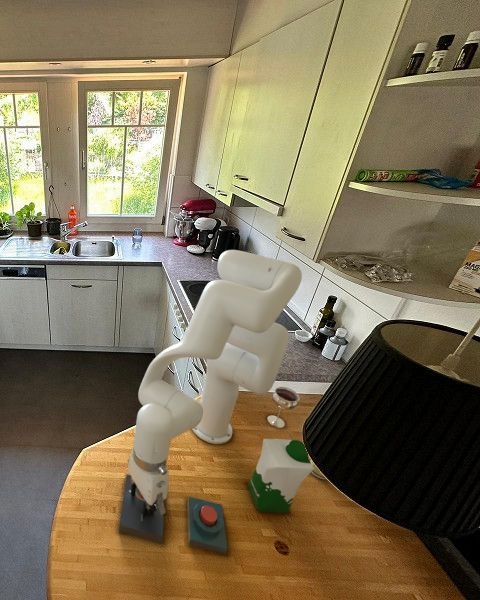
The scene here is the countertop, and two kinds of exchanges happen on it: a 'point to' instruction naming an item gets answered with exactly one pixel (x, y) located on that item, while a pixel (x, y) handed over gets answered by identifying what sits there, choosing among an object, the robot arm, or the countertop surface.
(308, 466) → the milk carton
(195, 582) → the countertop surface
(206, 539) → the teal button housing
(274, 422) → the wineglass
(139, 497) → the rotary knob
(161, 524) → the plate
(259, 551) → the countertop surface
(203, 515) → the button
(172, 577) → the countertop surface
